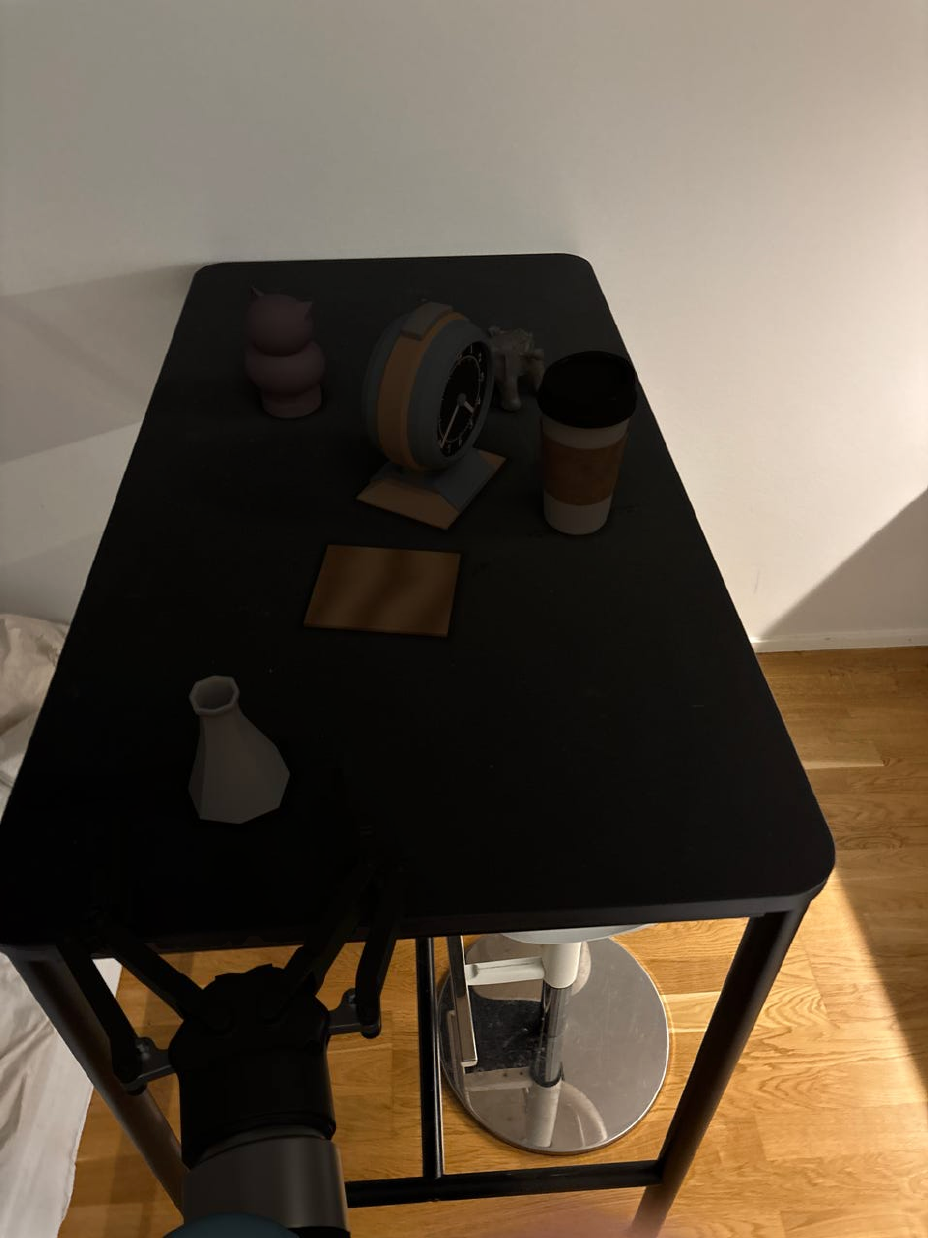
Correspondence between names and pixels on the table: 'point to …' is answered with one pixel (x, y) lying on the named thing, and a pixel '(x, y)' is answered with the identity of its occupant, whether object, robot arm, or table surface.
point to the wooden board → (384, 590)
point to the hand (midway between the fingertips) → (231, 800)
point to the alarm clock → (429, 414)
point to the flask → (232, 758)
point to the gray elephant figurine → (514, 362)
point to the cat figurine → (283, 354)
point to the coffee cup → (583, 436)
